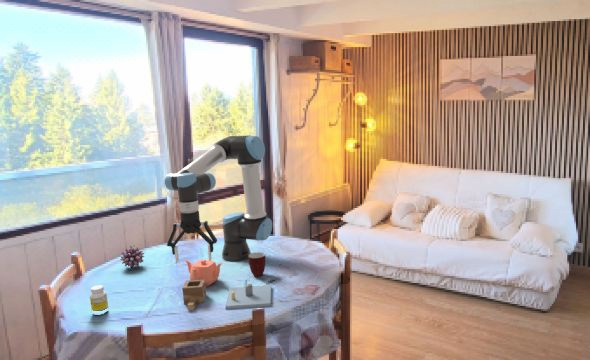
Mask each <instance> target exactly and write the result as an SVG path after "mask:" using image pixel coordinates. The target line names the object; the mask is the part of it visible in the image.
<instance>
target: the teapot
mask: <svg viewBox="0 0 590 360" xmlns="http://www.w3.org/2000/svg"><path fill="white" fill-rule="evenodd" d="M184 262H186V265H187V269H188V273H189V280H203V279H205V286H206V288H207V287H210V285H212V284H214V283H215V282H216V281H218V279H219V277H220V272H221V265H223V264H224V263H223V262H219V263H218V264H216V262H215V261H213V260H212V259H211V261H209V259H208V260H207V259H201V260H197V261H195V262H194V263H193V264H192V263H191V262H190V260H187V259H184Z"/></svg>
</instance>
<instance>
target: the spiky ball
mask: <svg viewBox="0 0 590 360" xmlns="http://www.w3.org/2000/svg"><path fill="white" fill-rule="evenodd" d="M121 255H122V256H120V261H122V262H121V264H122V265H123V264H124V267H127V265H128V267H130V268H131V267H132V268H133V266H134V265H135V267H136V266H137V267H138V266H139V267H140V264H142V263H144V259H143V258H145V252H144V250H143V249H142V250H141V247H139V246H138V245H136V247H135V244H134V245H130V247H128V246H126V247H125V250H124V251H121Z"/></svg>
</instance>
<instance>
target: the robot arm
mask: <svg viewBox="0 0 590 360" xmlns="http://www.w3.org/2000/svg"><path fill="white" fill-rule="evenodd" d="M265 153H266V147H265V144H264V141H263V140H262V139H261V138H260V136H257V135H250V134H249V135H231V136H226V137H224V138H222V139H220V140H218V141H216V142H215V143H213V144H212V145H210V147H209V149H208V150H207V151H206V152H204V153H203V154H202V155H200V156H199V157H197V158H196V159H195V160H194V161H192V162H190V163H189V164H188V165H186V166H185V167H183V168H182V169H181V170H179V171H177V172H176V173H175V172H173V173H167V174H166V176H165V177H164V186H165V188H166V189H167V190H169V191H174V192H178V193H177V194H178V205H179V211H180V213H179V214H180V223H178V222H175V223H173V225H172V229H173V230H172V232H171V234H170V236H169V238H168V241H167V244H166V247H170V248H171V252H172V255H174V257H175V263H176V264H178V263H179V262H180V258H179V256H180V255H179V249H178V245H177V244H178V242H179V241H180V239H182V237H184V235H185V234H187V235H190V234H198V235H200V237H201V238H202V239H203V240H204V241H205V242H206V243H207V253H208V260H209V261H211V260H212V253H213V252H214V244H217V242H218V239H217V237H216V236H215V234H214V233H213V230H212V229H211V228H210V225H209V222H208V220H205V221H201V218H200V211H199V210H200V209H199V198H198V195H199V194H202V193H206V192H210V191H211V190H213V189H214V188H215V186H216V184H217V183H216V182H217V181H216V177H215V176H214V175H213V174H212V173H210V172H208V171H210V170H211V169H213V168H214V167H215V166H217V164H220V163H224V162H225V161H227V160H237V164H238V165H239V167H241V175H242V183H243V184H242V185H243V192H244V200H245V201H244V202H245V210H246V211H245V212H241V211H239V212H234V213H229V214H227V215H225V216H223V217H222V231H223V243H224V244H223V248H222V252H221V257H222V260H225V261H229V262H230V261H231V262H237V261H243V260H246V259H248V255H249V254H251V250H250V247H249V244H248V243H247V242H248V241H247V240H251V241H257V242H259V241H266V240H267V239H268V238H269V237H270V235H271V233H272V230H273V221H272V219H271V218H270V217H268V216H267V212H266V211H264V206H263V205H264V204H263V196H262V195H263V194H262V185H261V178H260V177H261V174H260V164H261V163H262V160H263V158H264V157H265ZM201 226H202V227H203V228H204V229H205V231H206V233H207V234H206V233H205V232H204V231H203V230H202V228H201ZM179 228H180V229H182V231H181V232H180V234H179V235H178V236H177V237H176V239H175V240H174V237H175V235H176V233H177V230H178V229H179ZM173 240H174V241H173Z"/></svg>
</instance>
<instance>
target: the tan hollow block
mask: <svg viewBox="0 0 590 360" xmlns="http://www.w3.org/2000/svg"><path fill="white" fill-rule="evenodd" d="M182 296H183V299H182V300H183V305H187V310H188V311H194V310H195V308H196V306H197V304H204V302H205V299H206V296H207V287H206V286H205V279H203V280H190V279H189V280H185V282H184V285H183V286H182Z"/></svg>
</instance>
